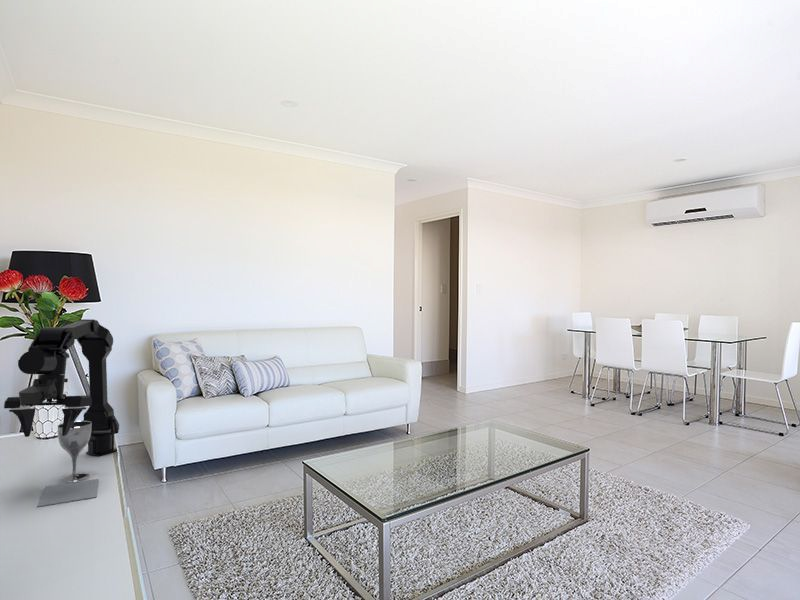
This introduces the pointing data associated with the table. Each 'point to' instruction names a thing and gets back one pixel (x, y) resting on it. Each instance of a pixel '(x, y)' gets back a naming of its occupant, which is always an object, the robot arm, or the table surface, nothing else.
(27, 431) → the robot arm
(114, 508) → the table surface
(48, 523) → the table surface
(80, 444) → the wine glass
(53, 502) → the placemat
